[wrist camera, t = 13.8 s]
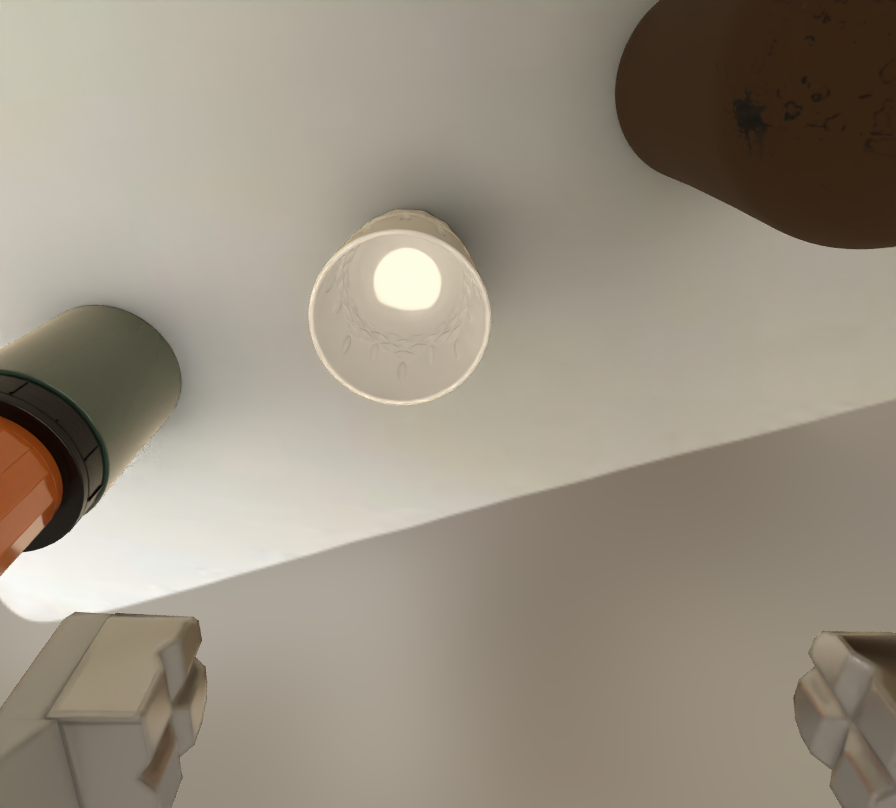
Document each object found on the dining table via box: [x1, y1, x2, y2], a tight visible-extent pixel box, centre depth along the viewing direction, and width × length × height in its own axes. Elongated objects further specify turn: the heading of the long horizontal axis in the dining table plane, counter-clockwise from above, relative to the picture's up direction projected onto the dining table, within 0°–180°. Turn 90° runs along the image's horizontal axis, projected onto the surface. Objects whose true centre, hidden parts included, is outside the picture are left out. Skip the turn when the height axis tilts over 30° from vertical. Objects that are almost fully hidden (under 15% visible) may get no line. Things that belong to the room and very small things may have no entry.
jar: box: [0, 305, 181, 515], centre depth 35 cm, size 8×8×12 cm
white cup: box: [308, 209, 491, 405], centre depth 33 cm, size 8×8×10 cm
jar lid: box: [0, 375, 103, 552], centre depth 30 cm, size 8×8×2 cm
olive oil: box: [615, 0, 896, 249], centre depth 23 cm, size 11×11×25 cm
